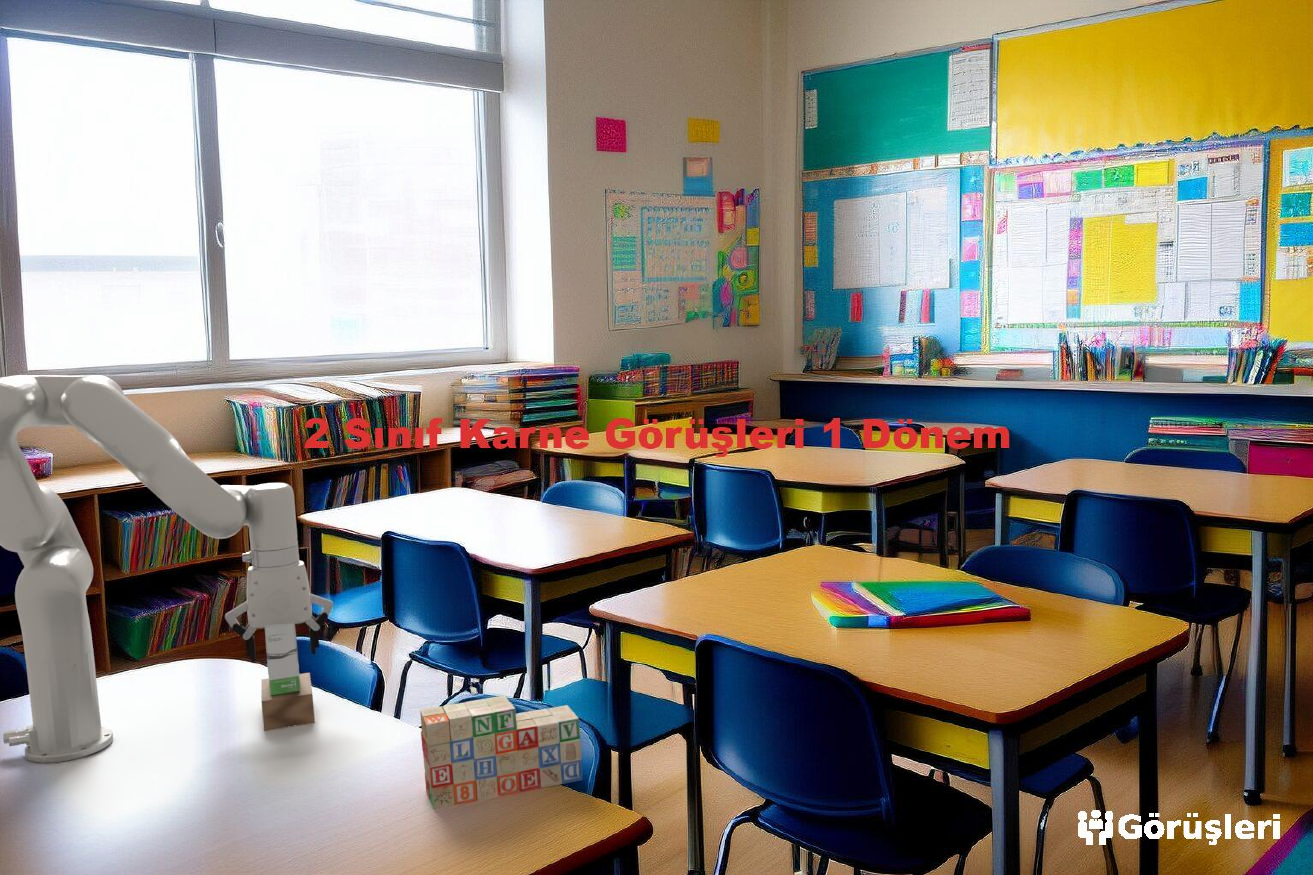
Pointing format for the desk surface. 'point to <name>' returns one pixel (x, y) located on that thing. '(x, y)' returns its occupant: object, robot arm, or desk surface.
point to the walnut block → (287, 705)
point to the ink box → (282, 658)
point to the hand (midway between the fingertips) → (283, 656)
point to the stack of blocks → (496, 750)
